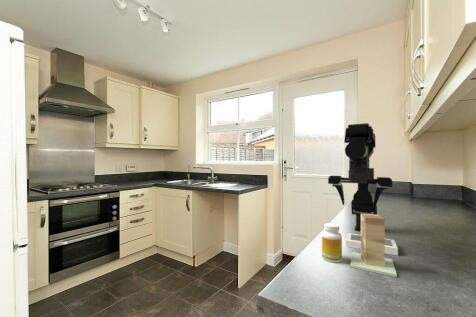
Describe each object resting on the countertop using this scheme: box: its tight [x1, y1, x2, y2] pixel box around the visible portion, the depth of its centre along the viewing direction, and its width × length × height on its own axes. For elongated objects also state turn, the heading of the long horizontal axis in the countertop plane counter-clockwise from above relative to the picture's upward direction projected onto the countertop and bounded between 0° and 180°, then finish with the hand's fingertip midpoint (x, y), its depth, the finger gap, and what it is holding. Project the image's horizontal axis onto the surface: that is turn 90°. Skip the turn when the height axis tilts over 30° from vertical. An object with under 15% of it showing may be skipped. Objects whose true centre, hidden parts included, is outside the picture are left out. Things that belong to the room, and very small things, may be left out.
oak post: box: [360, 214, 386, 267], centre depth 61 cm, size 4×4×12 cm
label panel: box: [345, 232, 399, 256], centre depth 74 cm, size 9×14×2 cm, turn 61°
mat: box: [350, 251, 398, 278], centre depth 61 cm, size 10×10×1 cm
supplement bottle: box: [321, 222, 343, 263], centre depth 64 cm, size 5×5×10 cm
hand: (358, 206), depth 76 cm, fingers open, 9 cm apart
